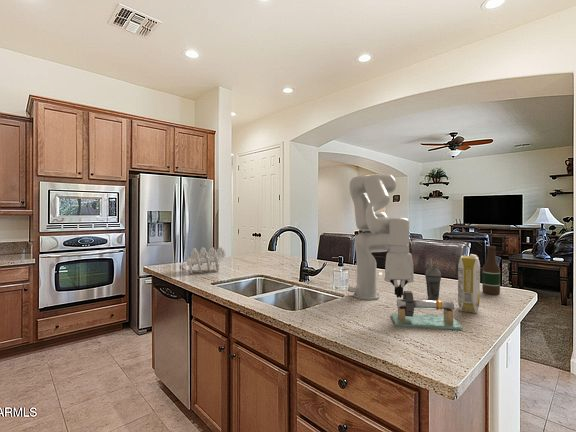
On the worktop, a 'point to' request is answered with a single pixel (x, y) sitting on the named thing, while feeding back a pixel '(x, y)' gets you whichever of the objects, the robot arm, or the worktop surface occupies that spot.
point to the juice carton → (469, 283)
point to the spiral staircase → (206, 258)
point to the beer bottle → (491, 273)
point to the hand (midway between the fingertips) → (398, 296)
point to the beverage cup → (433, 282)
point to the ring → (409, 303)
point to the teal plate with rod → (427, 320)
